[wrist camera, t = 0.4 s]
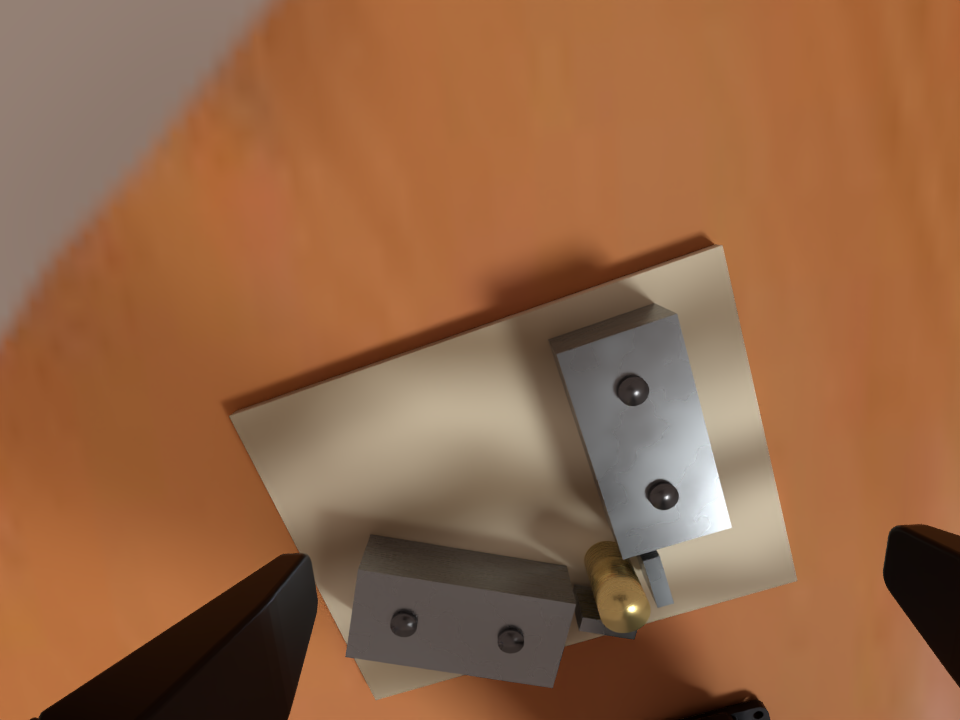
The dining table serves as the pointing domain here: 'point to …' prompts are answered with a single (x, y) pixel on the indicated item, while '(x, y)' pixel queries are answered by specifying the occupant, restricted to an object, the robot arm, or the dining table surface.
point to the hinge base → (639, 453)
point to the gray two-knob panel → (466, 611)
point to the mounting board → (513, 454)
